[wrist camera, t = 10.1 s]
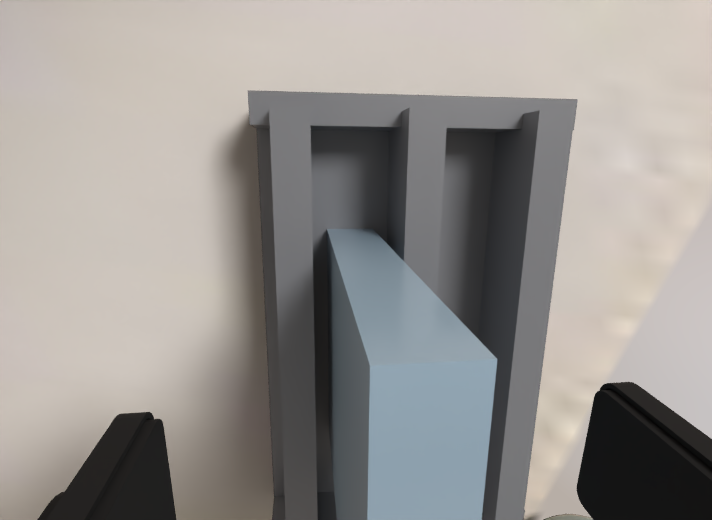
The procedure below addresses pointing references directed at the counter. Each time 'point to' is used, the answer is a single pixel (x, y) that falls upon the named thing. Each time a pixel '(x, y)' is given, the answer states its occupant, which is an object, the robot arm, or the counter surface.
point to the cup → (569, 517)
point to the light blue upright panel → (402, 391)
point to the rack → (409, 252)
